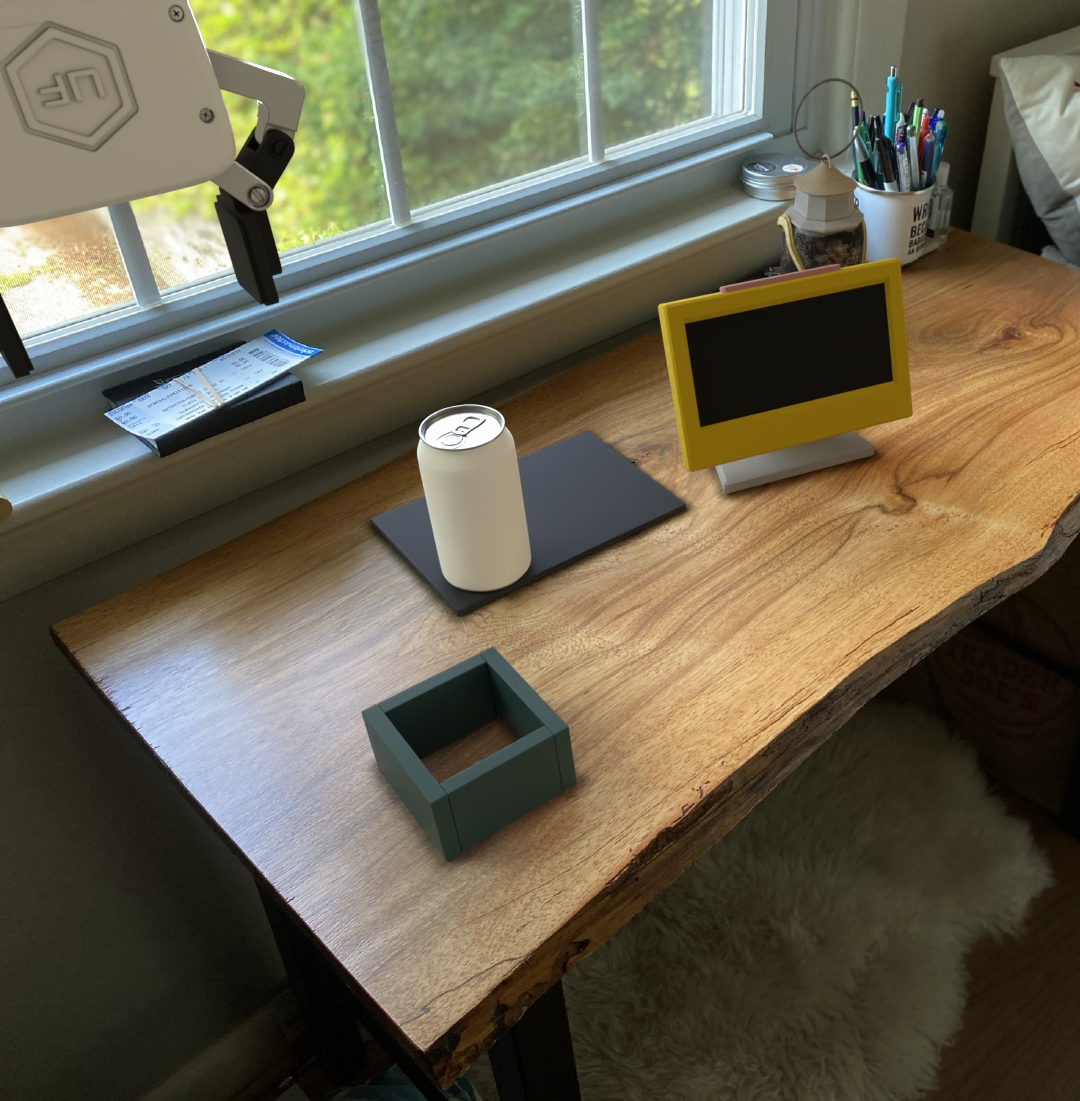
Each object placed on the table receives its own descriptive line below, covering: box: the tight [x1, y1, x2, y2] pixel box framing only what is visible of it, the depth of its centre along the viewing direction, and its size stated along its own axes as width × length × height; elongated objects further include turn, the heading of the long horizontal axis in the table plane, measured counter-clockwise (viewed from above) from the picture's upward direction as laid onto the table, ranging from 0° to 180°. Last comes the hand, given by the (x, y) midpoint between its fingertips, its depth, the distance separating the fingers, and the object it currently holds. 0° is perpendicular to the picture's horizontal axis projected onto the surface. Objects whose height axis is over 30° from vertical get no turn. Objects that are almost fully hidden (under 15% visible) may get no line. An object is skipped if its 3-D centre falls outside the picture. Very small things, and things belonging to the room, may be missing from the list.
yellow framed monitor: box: [657, 257, 914, 495], centre depth 88 cm, size 20×8×16 cm, turn 114°
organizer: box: [361, 645, 578, 862], centre depth 64 cm, size 9×9×5 cm
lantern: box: [776, 77, 868, 275], centre depth 100 cm, size 9×8×25 cm
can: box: [416, 404, 531, 592], centre depth 77 cm, size 6×6×12 cm
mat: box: [370, 430, 687, 617], centre depth 86 cm, size 20×14×1 cm
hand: (144, 327), depth 46 cm, fingers open, 9 cm apart
